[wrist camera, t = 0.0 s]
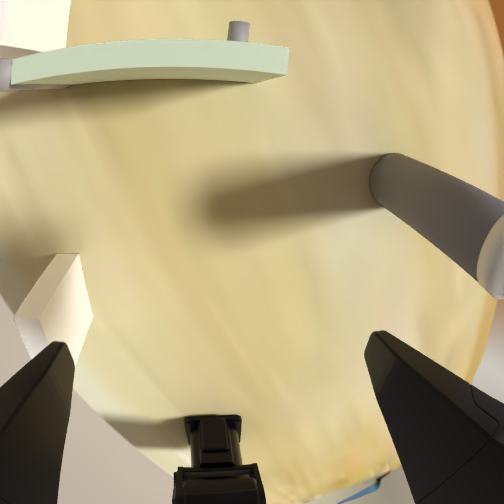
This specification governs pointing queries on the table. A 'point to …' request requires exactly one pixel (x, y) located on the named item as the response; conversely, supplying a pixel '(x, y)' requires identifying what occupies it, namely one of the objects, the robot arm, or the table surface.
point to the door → (148, 62)
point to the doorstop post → (446, 215)
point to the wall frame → (63, 265)
